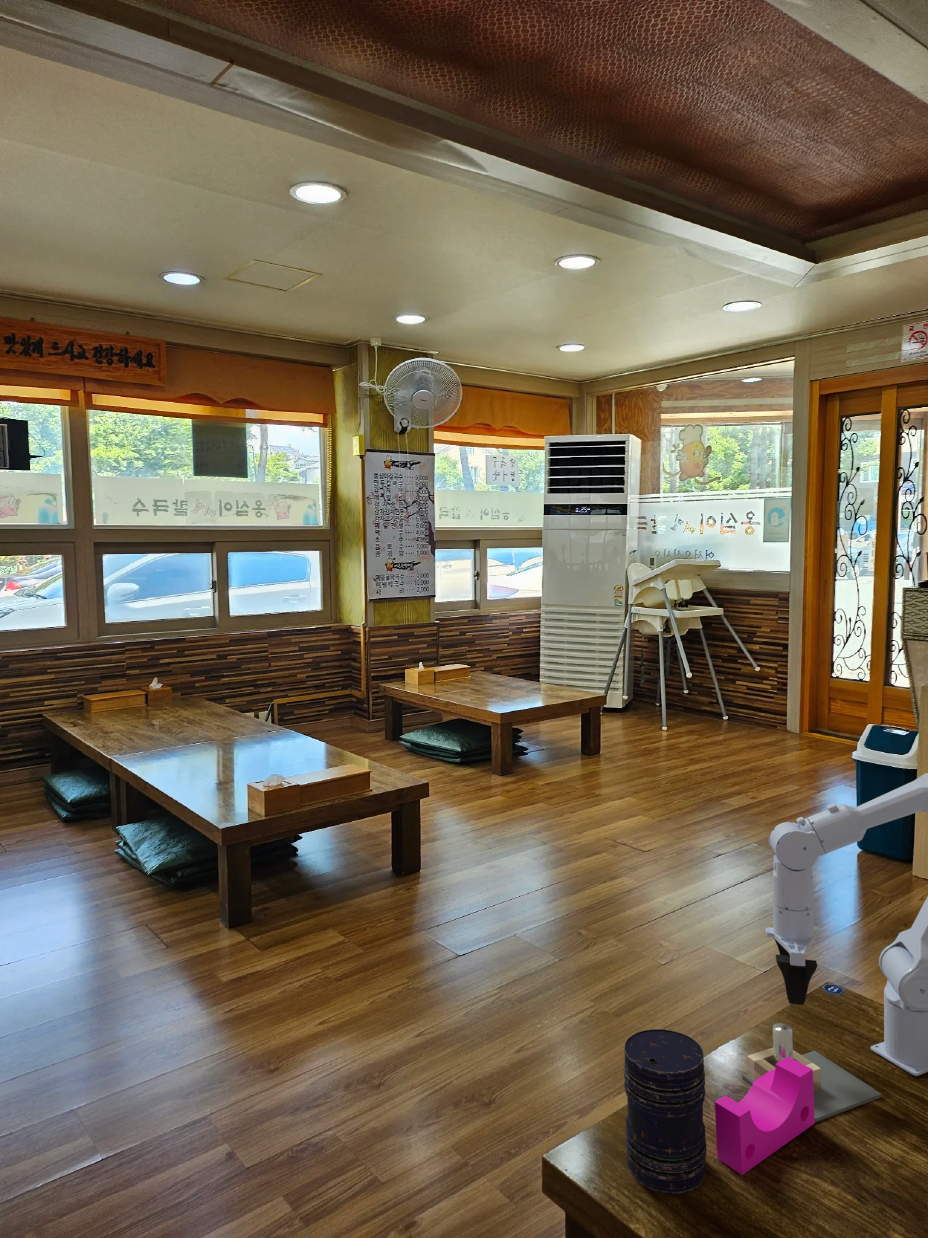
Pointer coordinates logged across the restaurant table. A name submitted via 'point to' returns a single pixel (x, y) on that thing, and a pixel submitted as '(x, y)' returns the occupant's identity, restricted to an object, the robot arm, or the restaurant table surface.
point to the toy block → (765, 1115)
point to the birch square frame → (765, 1063)
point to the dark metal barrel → (665, 1110)
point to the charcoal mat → (835, 1089)
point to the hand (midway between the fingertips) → (794, 991)
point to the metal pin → (782, 1042)
